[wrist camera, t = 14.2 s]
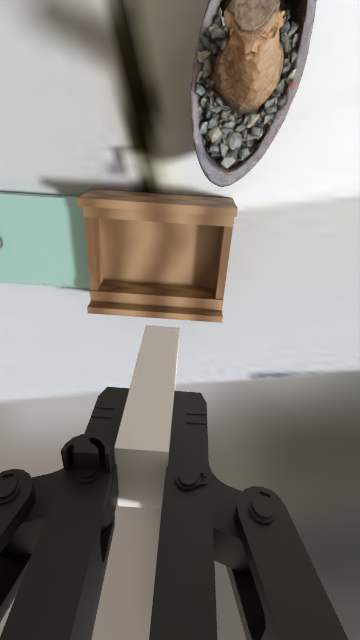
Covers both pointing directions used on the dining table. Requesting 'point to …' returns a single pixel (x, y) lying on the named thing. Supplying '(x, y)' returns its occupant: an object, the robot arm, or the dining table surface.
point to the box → (157, 253)
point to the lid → (42, 240)
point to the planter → (245, 80)
